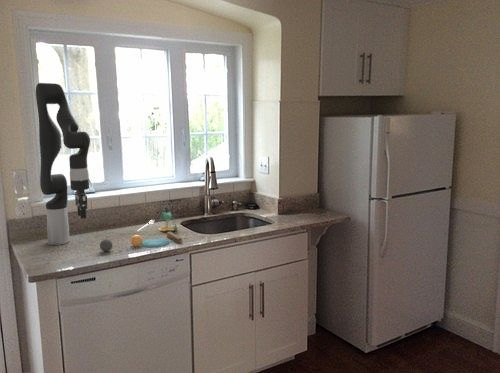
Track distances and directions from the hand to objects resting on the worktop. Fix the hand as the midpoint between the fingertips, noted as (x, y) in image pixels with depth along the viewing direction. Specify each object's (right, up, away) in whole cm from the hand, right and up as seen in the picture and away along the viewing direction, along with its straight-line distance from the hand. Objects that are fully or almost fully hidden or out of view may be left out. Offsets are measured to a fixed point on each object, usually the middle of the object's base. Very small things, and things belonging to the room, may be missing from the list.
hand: (82, 216), depth 192 cm
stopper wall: (+36, -13, +25) cm, 46 cm away
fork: (+16, -10, +51) cm, 54 cm away
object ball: (+20, -12, +15) cm, 28 cm away
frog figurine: (+30, -11, +43) cm, 53 cm away
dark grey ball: (+8, -14, +7) cm, 17 cm away
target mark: (+28, -14, +20) cm, 37 cm away
